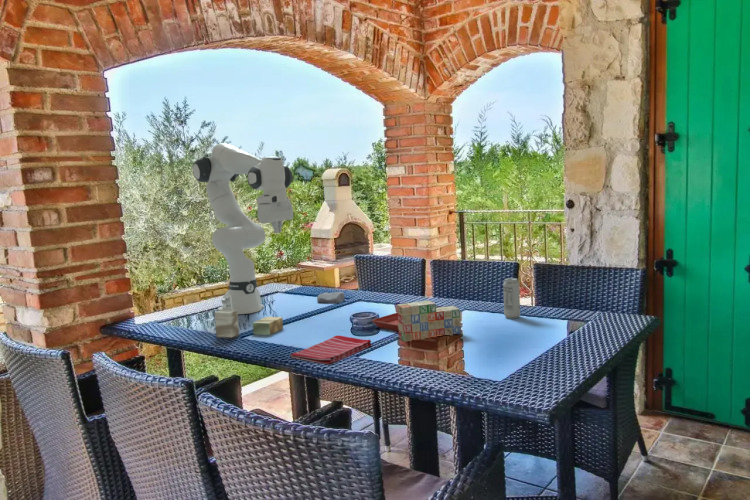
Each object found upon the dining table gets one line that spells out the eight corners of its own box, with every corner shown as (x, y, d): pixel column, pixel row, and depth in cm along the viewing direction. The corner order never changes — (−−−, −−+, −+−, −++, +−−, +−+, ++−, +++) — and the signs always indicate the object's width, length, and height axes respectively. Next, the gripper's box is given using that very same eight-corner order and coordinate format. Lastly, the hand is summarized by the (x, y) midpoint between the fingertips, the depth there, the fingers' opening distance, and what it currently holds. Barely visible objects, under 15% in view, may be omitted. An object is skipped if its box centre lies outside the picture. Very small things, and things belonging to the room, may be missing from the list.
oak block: (268, 323, 228) (282, 317, 237) (252, 322, 231) (267, 316, 240) (269, 335, 228) (283, 328, 238) (253, 334, 231) (267, 327, 240)
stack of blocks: (454, 330, 220) (452, 297, 219) (461, 334, 214) (459, 300, 213) (398, 337, 215) (396, 303, 213) (403, 342, 209) (402, 307, 207)
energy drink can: (523, 317, 233) (522, 279, 232) (509, 319, 231) (508, 281, 229) (514, 314, 239) (513, 277, 237) (501, 316, 237) (500, 278, 235)
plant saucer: (437, 324, 232) (437, 316, 231) (407, 335, 219) (406, 326, 218) (402, 319, 244) (401, 310, 244) (371, 328, 231) (370, 320, 231)
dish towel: (373, 346, 207) (373, 339, 206) (330, 366, 188) (329, 358, 187) (334, 341, 217) (334, 333, 216) (289, 359, 197) (288, 351, 197)
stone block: (339, 307, 280) (346, 298, 289) (337, 297, 279) (344, 289, 288) (315, 307, 284) (323, 299, 293) (313, 298, 283) (321, 290, 292)
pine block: (232, 339, 225) (229, 313, 224) (216, 338, 228) (214, 312, 227) (239, 336, 229) (237, 310, 228) (224, 335, 232) (222, 309, 231)
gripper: (282, 196, 247) (284, 230, 249) (253, 199, 229) (256, 235, 230) (295, 196, 245) (298, 230, 247) (267, 198, 226) (270, 235, 228)
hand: (277, 232), depth 238 cm, fingers closed
